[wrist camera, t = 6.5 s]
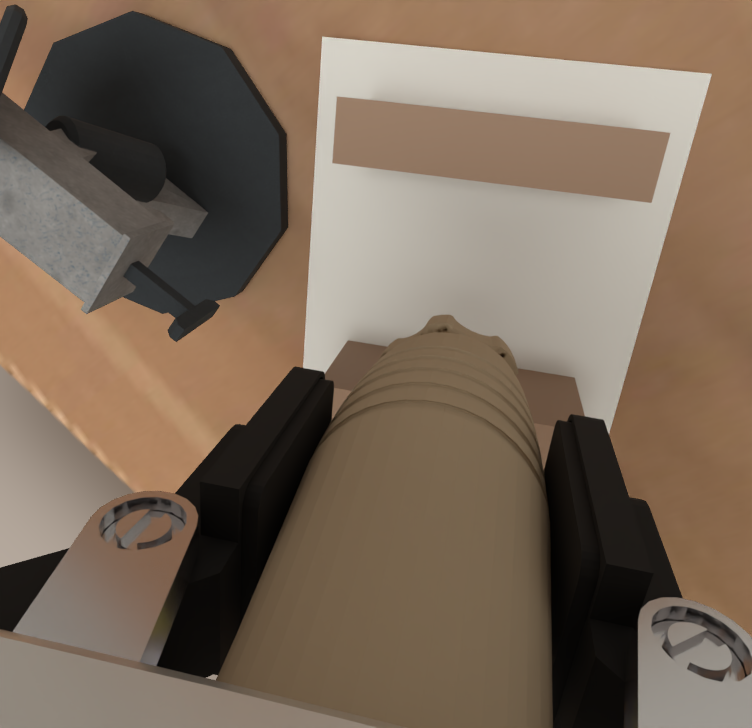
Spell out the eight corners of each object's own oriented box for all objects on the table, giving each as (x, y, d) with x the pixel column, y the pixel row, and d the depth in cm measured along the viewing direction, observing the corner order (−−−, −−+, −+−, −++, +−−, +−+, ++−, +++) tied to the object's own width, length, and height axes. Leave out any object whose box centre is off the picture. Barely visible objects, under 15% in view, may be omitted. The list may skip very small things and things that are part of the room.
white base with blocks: (596, 452, 29) (618, 535, 23) (307, 400, 31) (263, 465, 25) (701, 75, 22) (767, 63, 17) (330, 40, 24) (278, 18, 19)
